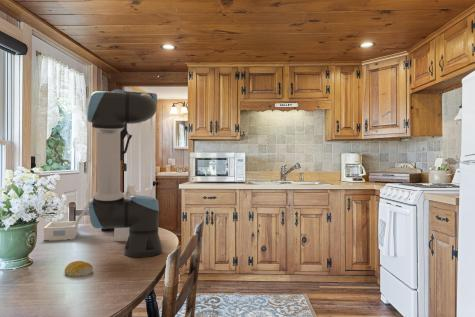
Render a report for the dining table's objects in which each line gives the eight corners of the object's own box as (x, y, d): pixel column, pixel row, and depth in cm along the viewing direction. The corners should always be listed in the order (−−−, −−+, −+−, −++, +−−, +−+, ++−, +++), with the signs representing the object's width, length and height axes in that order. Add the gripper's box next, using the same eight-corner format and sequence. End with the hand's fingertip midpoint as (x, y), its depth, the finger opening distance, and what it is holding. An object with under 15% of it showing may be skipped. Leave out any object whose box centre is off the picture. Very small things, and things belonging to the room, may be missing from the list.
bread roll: (82, 268, 126) (83, 256, 126) (96, 273, 120) (96, 261, 120) (59, 273, 119) (59, 261, 119) (72, 279, 114) (72, 266, 114)
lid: (91, 197, 188) (94, 199, 188) (77, 219, 185) (80, 220, 186) (89, 201, 172) (91, 202, 172) (73, 224, 170) (76, 226, 170)
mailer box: (50, 233, 181) (50, 222, 182) (78, 232, 186) (78, 221, 186) (43, 240, 166) (43, 227, 166) (74, 239, 170) (74, 226, 170)
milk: (137, 241, 168) (138, 186, 168) (113, 240, 168) (114, 185, 168) (145, 236, 180) (146, 184, 180) (122, 235, 180) (123, 184, 180)
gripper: (132, 122, 188) (131, 167, 187) (106, 121, 184) (105, 167, 183) (132, 120, 180) (132, 167, 180) (105, 119, 176) (104, 167, 176)
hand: (118, 167), depth 182 cm, fingers closed
